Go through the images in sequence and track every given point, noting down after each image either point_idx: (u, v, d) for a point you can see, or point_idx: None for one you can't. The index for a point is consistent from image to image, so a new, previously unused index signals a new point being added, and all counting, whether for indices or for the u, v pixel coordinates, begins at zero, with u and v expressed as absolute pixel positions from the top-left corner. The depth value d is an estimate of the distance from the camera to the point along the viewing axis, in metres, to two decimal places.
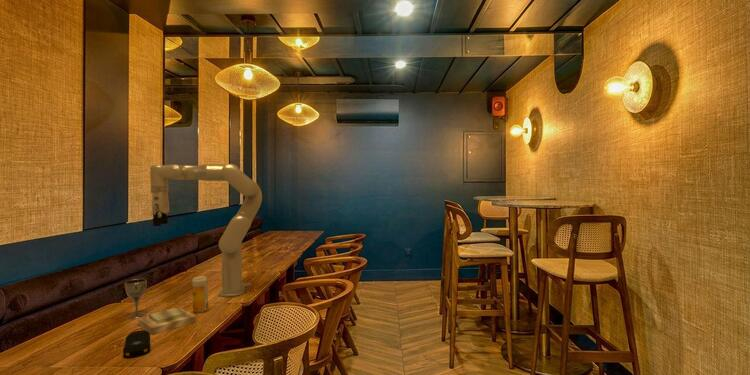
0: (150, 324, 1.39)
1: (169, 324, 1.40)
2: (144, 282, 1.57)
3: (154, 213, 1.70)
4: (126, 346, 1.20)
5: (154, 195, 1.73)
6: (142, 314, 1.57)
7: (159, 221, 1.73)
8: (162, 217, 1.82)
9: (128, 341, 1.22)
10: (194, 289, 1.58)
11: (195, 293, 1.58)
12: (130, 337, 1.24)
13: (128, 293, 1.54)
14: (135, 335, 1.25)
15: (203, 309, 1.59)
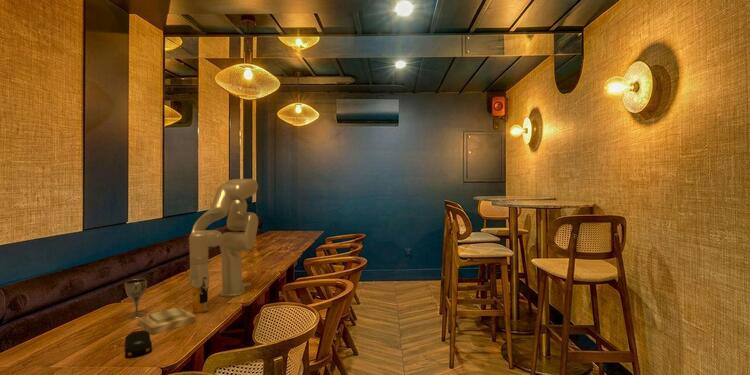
0: (150, 324, 1.39)
1: (169, 324, 1.40)
2: (144, 282, 1.57)
3: None
4: (128, 346, 1.20)
5: None
6: (142, 314, 1.57)
7: None
8: None
9: (129, 341, 1.22)
10: (194, 289, 1.58)
11: (195, 293, 1.58)
12: (131, 337, 1.24)
13: (128, 293, 1.54)
14: (136, 335, 1.25)
15: (203, 309, 1.59)
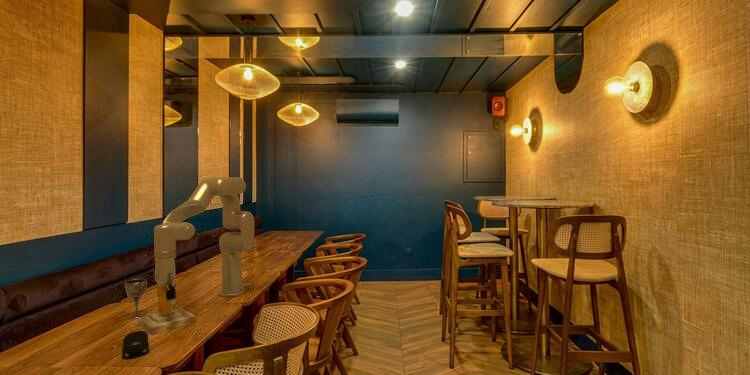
0: (150, 324, 1.39)
1: (169, 324, 1.40)
2: (144, 282, 1.57)
3: None
4: (125, 347, 1.19)
5: None
6: (142, 314, 1.57)
7: None
8: None
9: (126, 342, 1.22)
10: (159, 289, 1.44)
11: (160, 293, 1.44)
12: (128, 338, 1.23)
13: (128, 293, 1.54)
14: (133, 336, 1.24)
15: (170, 311, 1.45)
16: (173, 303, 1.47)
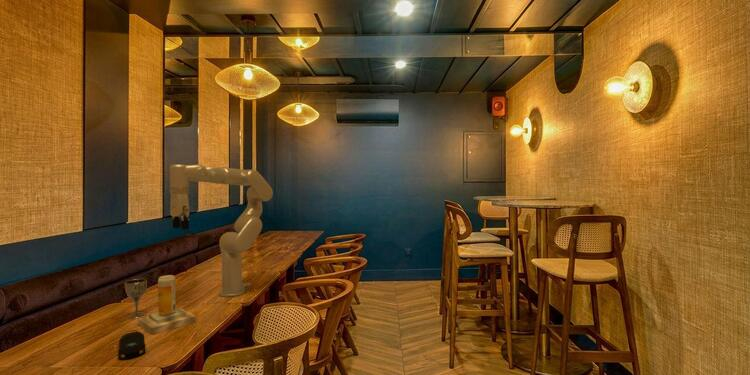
0: (150, 324, 1.39)
1: (169, 324, 1.40)
2: (144, 282, 1.57)
3: None
4: (121, 348, 1.18)
5: None
6: (142, 314, 1.57)
7: None
8: None
9: (123, 343, 1.21)
10: (160, 289, 1.44)
11: (161, 294, 1.44)
12: (124, 339, 1.22)
13: (128, 293, 1.54)
14: (130, 337, 1.23)
15: (170, 311, 1.45)
16: (173, 303, 1.47)
